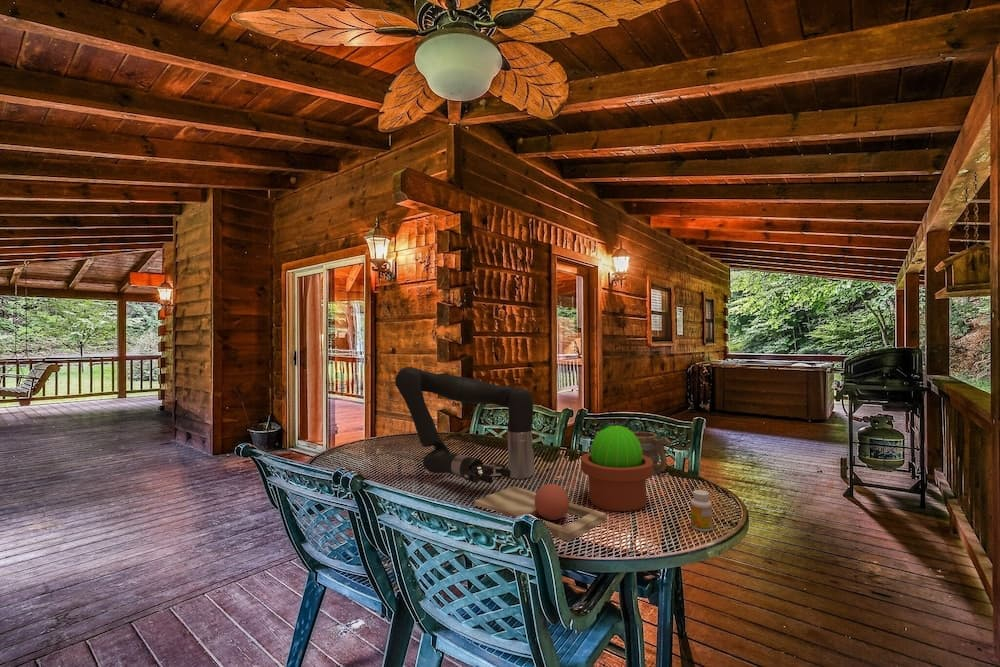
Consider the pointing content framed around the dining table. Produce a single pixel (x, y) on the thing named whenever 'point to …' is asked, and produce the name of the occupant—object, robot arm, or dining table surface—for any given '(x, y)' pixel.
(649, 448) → the tankard
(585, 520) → the board
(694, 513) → the supplement bottle
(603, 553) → the dining table surface
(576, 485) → the dining table surface
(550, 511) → the ball
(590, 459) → the potted cactus
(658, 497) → the dining table surface
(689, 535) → the dining table surface
